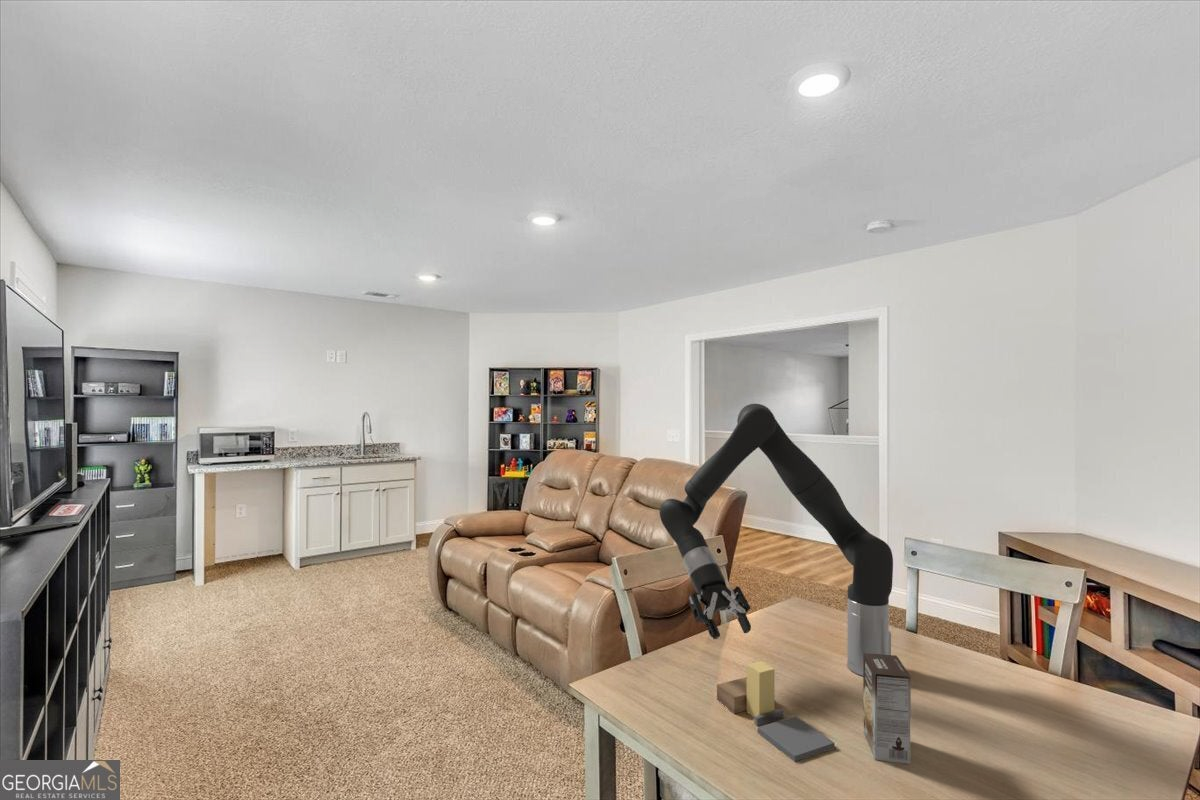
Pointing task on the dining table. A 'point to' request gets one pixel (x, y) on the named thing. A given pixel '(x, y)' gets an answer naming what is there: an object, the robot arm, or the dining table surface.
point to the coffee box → (886, 707)
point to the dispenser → (742, 700)
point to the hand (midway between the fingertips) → (732, 634)
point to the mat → (795, 738)
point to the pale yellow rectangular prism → (760, 688)
